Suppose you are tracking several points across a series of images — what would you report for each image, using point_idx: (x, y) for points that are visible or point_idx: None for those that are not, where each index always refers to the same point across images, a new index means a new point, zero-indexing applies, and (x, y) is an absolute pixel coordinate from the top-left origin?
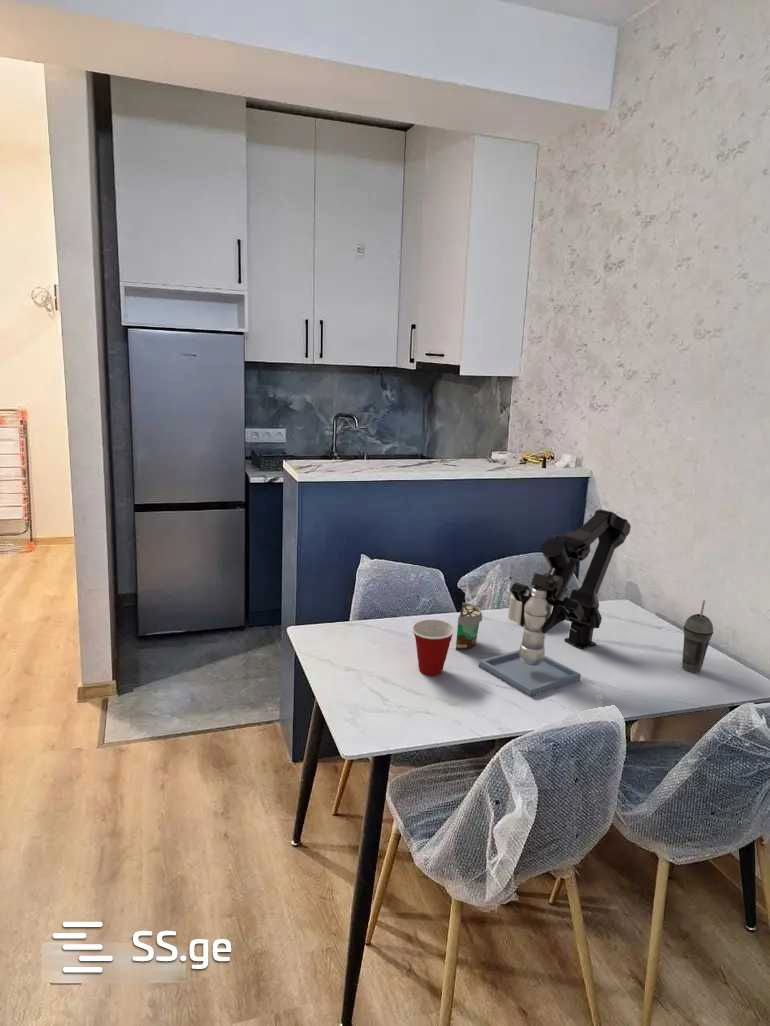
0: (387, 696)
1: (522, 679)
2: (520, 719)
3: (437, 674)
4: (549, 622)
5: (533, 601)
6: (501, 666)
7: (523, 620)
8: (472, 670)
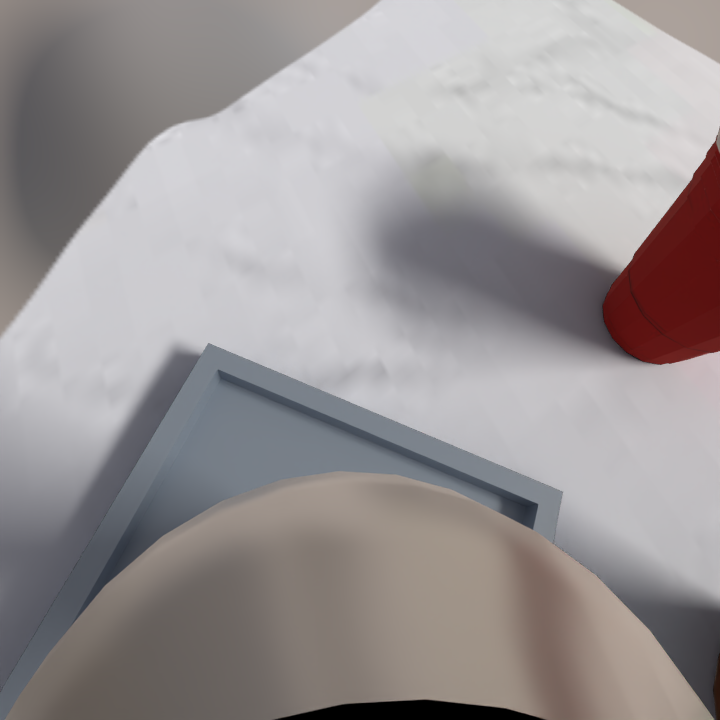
0: (599, 112)
1: None
2: (193, 182)
3: (604, 301)
4: None
5: (519, 637)
6: None
7: None
8: (540, 439)
